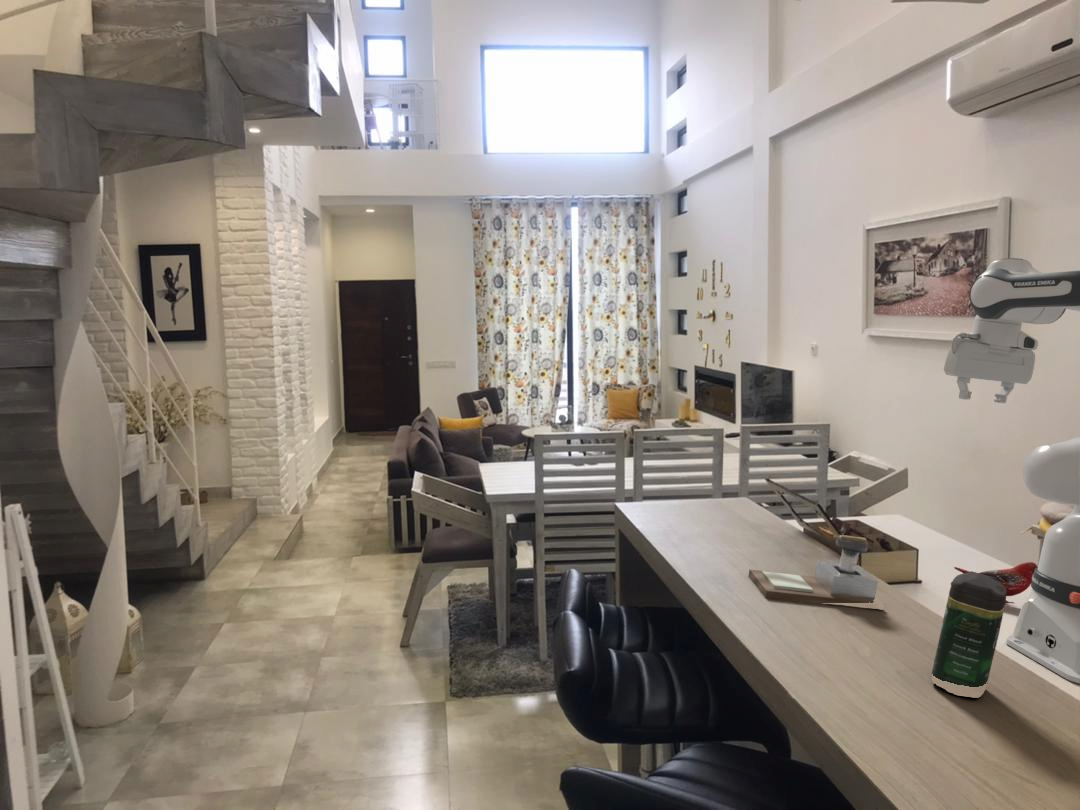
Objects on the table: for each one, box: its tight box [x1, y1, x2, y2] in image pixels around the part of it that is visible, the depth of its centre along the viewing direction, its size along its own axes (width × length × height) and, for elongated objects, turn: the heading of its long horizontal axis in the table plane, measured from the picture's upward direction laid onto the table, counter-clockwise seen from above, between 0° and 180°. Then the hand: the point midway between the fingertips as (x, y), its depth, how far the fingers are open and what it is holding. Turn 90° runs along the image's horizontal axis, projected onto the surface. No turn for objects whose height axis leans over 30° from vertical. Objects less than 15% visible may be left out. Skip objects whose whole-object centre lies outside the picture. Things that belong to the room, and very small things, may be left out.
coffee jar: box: [931, 571, 1007, 687], centre depth 128 cm, size 10×8×19 cm
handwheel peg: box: [835, 534, 869, 575], centre depth 165 cm, size 6×6×11 cm
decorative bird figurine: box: [953, 561, 1038, 605], centre depth 174 cm, size 3×18×10 cm, turn 81°
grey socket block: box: [813, 560, 879, 600], centre depth 165 cm, size 9×9×4 cm
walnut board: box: [748, 569, 874, 604], centre depth 165 cm, size 12×24×2 cm, turn 92°
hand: (982, 401), depth 172 cm, fingers open, 8 cm apart
